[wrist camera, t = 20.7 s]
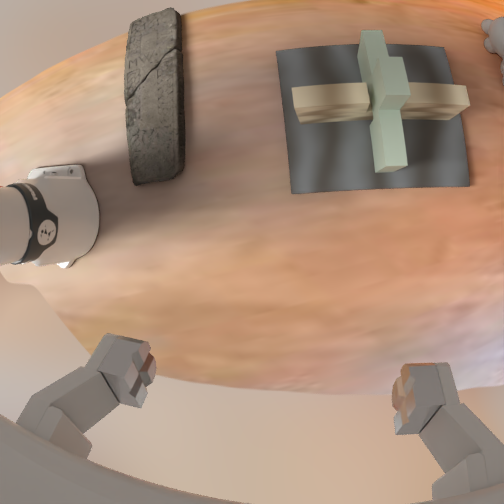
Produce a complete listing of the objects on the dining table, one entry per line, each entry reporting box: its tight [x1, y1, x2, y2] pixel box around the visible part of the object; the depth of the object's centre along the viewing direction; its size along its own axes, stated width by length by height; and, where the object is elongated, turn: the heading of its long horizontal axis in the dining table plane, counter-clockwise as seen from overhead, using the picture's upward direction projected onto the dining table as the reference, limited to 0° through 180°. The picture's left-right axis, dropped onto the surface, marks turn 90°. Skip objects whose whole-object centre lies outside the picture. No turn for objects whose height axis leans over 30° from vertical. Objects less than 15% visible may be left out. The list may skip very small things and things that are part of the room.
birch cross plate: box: [276, 44, 470, 194], centre depth 33 cm, size 24×20×9 cm
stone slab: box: [124, 8, 185, 186], centre depth 43 cm, size 10×3×30 cm
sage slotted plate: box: [357, 30, 411, 173], centre depth 30 cm, size 16×2×12 cm, turn 5°
